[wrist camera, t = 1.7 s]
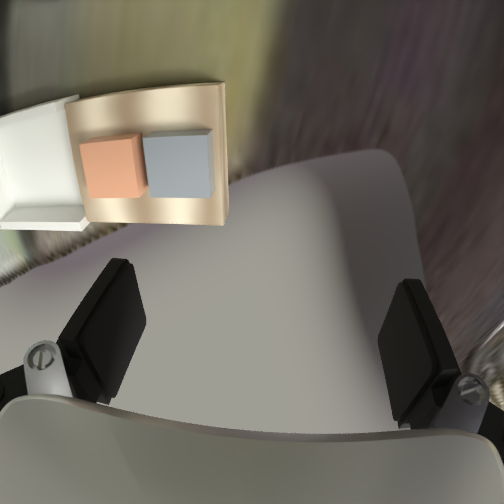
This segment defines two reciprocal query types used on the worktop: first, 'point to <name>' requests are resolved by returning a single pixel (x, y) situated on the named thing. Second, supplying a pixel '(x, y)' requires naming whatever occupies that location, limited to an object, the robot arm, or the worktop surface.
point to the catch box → (39, 170)
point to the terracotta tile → (114, 166)
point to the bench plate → (143, 121)
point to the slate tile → (180, 163)
